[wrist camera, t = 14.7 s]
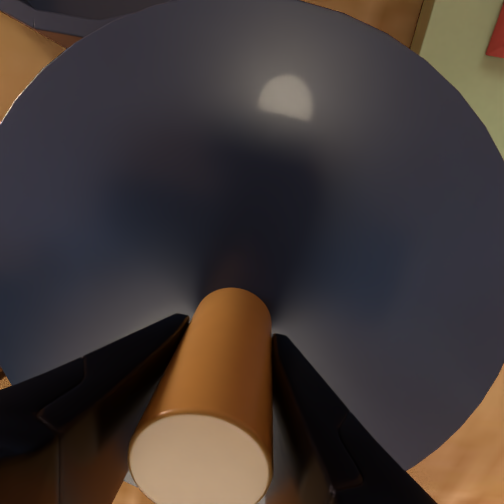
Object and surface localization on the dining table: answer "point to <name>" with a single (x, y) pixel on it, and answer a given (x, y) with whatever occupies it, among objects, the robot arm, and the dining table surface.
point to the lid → (254, 230)
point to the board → (466, 55)
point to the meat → (497, 38)
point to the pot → (71, 15)
